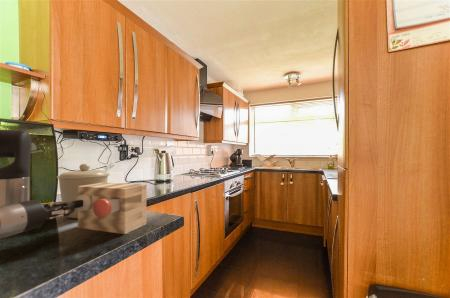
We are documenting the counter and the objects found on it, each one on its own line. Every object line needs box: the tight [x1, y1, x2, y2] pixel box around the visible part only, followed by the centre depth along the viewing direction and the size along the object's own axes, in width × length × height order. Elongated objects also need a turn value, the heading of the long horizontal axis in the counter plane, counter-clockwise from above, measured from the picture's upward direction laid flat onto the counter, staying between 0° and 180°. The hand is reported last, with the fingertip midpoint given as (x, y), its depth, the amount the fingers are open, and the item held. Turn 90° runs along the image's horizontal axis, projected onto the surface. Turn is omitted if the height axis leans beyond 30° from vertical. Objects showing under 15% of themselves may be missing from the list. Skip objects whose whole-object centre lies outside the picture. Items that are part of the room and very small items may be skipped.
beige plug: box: [76, 194, 92, 211], centre depth 74 cm, size 5×9×5 cm, turn 162°
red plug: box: [93, 198, 120, 218], centre depth 67 cm, size 5×9×5 cm, turn 162°
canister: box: [56, 163, 111, 219], centre depth 88 cm, size 18×18×21 cm
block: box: [77, 182, 147, 235], centre depth 74 cm, size 20×10×14 cm, turn 72°
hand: (81, 203), depth 70 cm, fingers closed
